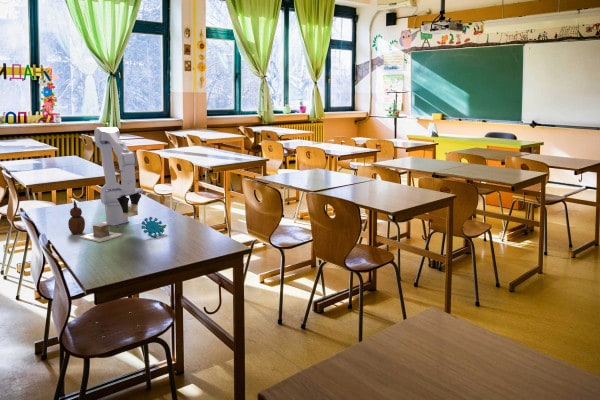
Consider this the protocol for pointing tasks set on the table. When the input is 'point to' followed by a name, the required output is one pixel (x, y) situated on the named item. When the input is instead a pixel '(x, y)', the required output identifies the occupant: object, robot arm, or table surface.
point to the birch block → (131, 210)
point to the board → (100, 239)
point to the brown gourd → (76, 220)
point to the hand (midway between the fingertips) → (129, 211)
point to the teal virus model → (153, 227)
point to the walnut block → (101, 229)
